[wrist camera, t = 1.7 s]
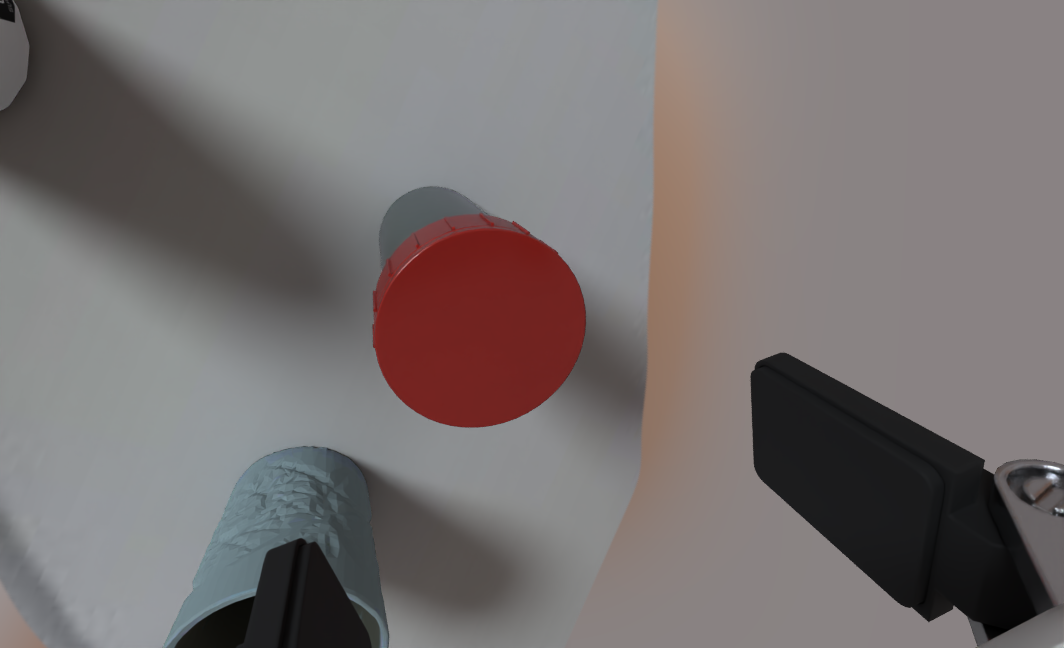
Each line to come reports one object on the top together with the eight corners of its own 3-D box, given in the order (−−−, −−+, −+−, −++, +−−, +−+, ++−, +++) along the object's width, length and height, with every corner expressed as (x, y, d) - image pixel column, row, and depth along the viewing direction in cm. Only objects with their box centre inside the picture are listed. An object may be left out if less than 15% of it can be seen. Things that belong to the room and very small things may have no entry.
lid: (331, 271, 18) (324, 295, 15) (520, 178, 18) (544, 187, 16) (429, 422, 21) (437, 463, 19) (585, 339, 22) (613, 367, 19)
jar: (357, 216, 29) (348, 294, 16) (459, 167, 29) (530, 204, 17) (412, 310, 32) (442, 438, 19) (504, 263, 32) (592, 357, 20)
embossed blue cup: (227, 431, 31) (155, 594, 20) (393, 438, 35) (405, 579, 24) (218, 558, 34) (151, 756, 24) (371, 552, 38) (373, 722, 27)
